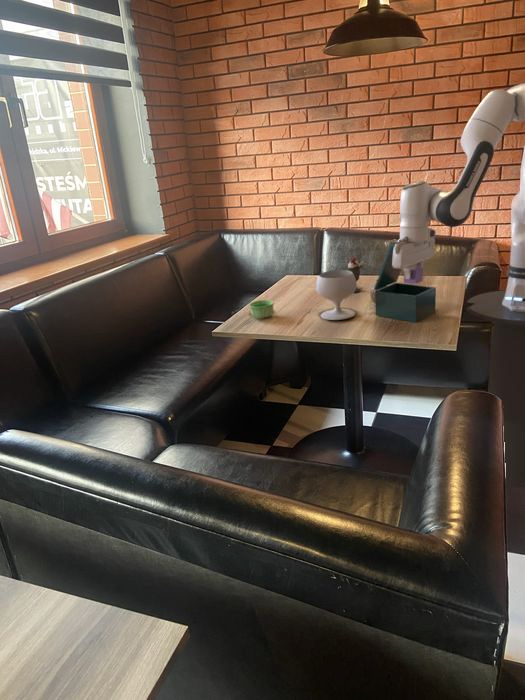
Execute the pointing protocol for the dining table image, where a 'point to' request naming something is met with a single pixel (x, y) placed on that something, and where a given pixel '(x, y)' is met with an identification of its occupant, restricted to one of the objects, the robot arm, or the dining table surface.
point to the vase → (373, 292)
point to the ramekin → (261, 308)
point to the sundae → (355, 269)
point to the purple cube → (415, 275)
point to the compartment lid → (388, 268)
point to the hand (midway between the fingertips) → (413, 276)
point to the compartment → (405, 301)
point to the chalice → (336, 292)
